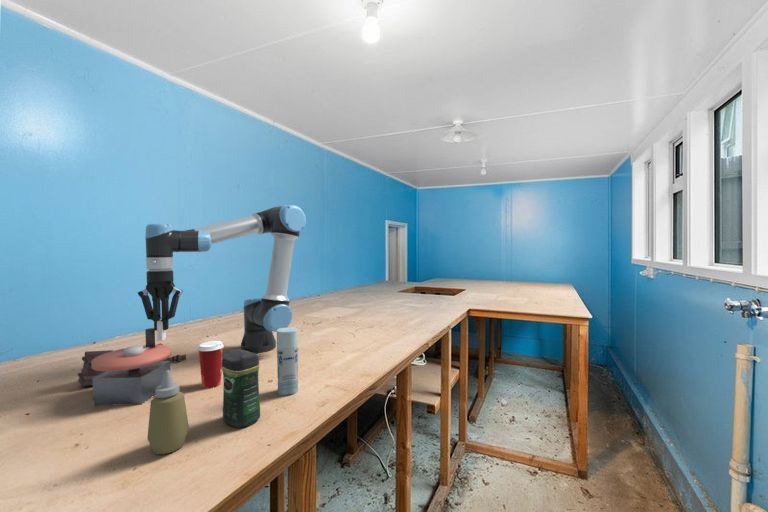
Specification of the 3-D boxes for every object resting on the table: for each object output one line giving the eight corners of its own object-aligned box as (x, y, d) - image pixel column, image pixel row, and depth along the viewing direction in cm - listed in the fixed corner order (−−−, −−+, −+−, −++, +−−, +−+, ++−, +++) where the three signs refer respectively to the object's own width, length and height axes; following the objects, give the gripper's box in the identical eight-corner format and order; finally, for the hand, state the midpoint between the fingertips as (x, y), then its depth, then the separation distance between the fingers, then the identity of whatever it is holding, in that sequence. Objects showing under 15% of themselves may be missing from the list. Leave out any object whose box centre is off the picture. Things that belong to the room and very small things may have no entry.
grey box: (170, 384, 113) (170, 360, 113) (142, 404, 99) (141, 377, 99) (128, 385, 113) (127, 361, 112) (93, 404, 99) (92, 378, 98)
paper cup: (229, 382, 115) (228, 341, 114) (211, 391, 107) (210, 348, 107) (211, 379, 117) (210, 339, 117) (192, 388, 110) (191, 345, 110)
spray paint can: (276, 389, 109) (275, 328, 108) (296, 385, 111) (296, 326, 111) (278, 397, 103) (277, 333, 102) (300, 393, 105) (299, 330, 105)
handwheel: (144, 380, 96) (143, 344, 95) (72, 381, 95) (71, 345, 95) (184, 356, 116) (183, 327, 115) (125, 357, 115) (124, 327, 115)
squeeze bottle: (160, 438, 81) (158, 365, 81) (195, 436, 82) (193, 364, 81) (139, 459, 73) (137, 378, 73) (178, 457, 74) (176, 377, 73)
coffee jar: (265, 419, 90) (264, 350, 90) (237, 432, 84) (236, 359, 83) (245, 408, 96) (244, 344, 95) (218, 420, 90) (216, 351, 89)
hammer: (75, 381, 112) (82, 351, 113) (178, 371, 138) (183, 346, 140) (81, 386, 108) (88, 354, 109) (186, 374, 135) (191, 349, 136)
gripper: (132, 271, 108) (134, 343, 108) (176, 270, 110) (178, 341, 111) (144, 269, 115) (146, 337, 116) (185, 268, 117) (187, 335, 118)
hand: (161, 339), depth 113 cm, fingers closed
